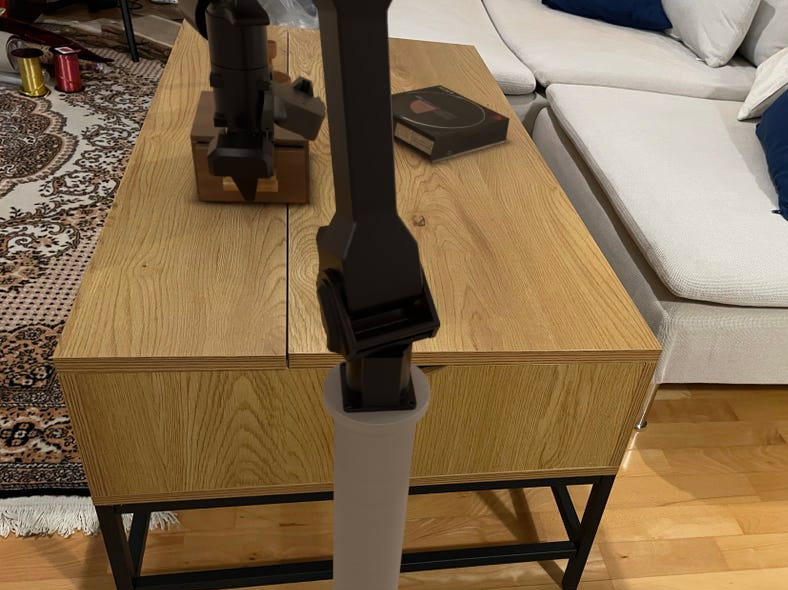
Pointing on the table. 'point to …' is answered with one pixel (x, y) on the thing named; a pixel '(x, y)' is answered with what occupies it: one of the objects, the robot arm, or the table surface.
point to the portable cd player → (444, 123)
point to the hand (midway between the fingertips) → (250, 199)
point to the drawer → (274, 189)
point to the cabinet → (207, 132)
